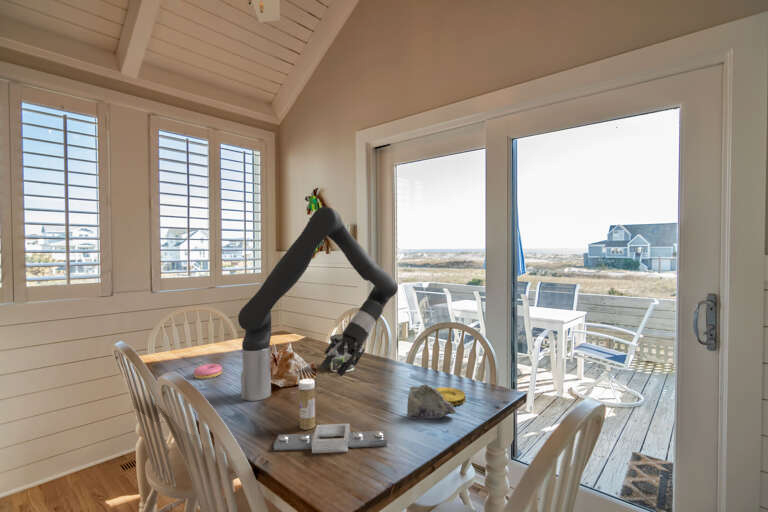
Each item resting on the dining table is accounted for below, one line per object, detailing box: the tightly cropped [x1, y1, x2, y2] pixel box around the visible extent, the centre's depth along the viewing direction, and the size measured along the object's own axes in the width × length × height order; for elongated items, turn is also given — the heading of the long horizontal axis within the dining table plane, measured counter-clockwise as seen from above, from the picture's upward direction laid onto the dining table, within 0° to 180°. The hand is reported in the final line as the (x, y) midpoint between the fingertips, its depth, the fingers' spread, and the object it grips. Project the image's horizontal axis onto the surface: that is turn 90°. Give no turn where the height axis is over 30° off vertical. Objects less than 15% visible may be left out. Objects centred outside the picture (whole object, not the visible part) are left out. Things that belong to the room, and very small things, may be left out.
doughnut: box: [193, 363, 223, 380], centre depth 156 cm, size 11×11×4 cm
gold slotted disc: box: [434, 386, 466, 406], centre depth 125 cm, size 12×12×2 cm
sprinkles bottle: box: [298, 378, 316, 431], centre depth 108 cm, size 5×5×14 cm
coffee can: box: [329, 333, 355, 373], centre depth 161 cm, size 10×10×14 cm
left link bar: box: [273, 432, 315, 452], centre depth 98 cm, size 10×5×2 cm, turn 92°
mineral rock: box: [406, 384, 456, 420], centre depth 112 cm, size 13×11×10 cm
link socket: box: [311, 423, 351, 454], centre depth 98 cm, size 9×9×3 cm
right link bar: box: [348, 430, 388, 448], centre depth 99 cm, size 10×5×2 cm, turn 92°
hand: (330, 371), depth 113 cm, fingers open, 8 cm apart
